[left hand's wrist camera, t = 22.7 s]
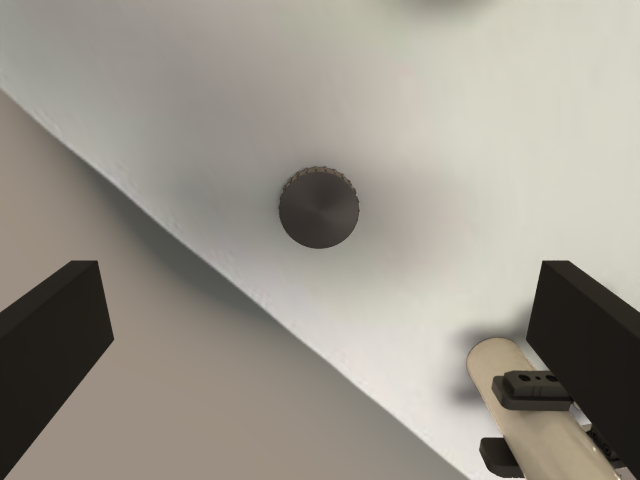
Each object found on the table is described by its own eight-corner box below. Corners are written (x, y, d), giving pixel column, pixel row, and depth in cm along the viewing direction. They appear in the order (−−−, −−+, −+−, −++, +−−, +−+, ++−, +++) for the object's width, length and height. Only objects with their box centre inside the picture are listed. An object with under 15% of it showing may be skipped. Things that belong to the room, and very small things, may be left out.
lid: (344, 155, 26) (346, 159, 25) (366, 227, 28) (369, 236, 26) (269, 179, 27) (266, 185, 25) (295, 250, 28) (294, 259, 27)
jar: (464, 384, 32) (597, 651, 17) (468, 338, 31) (618, 582, 15) (517, 382, 32) (701, 649, 17) (524, 336, 31) (731, 579, 15)
